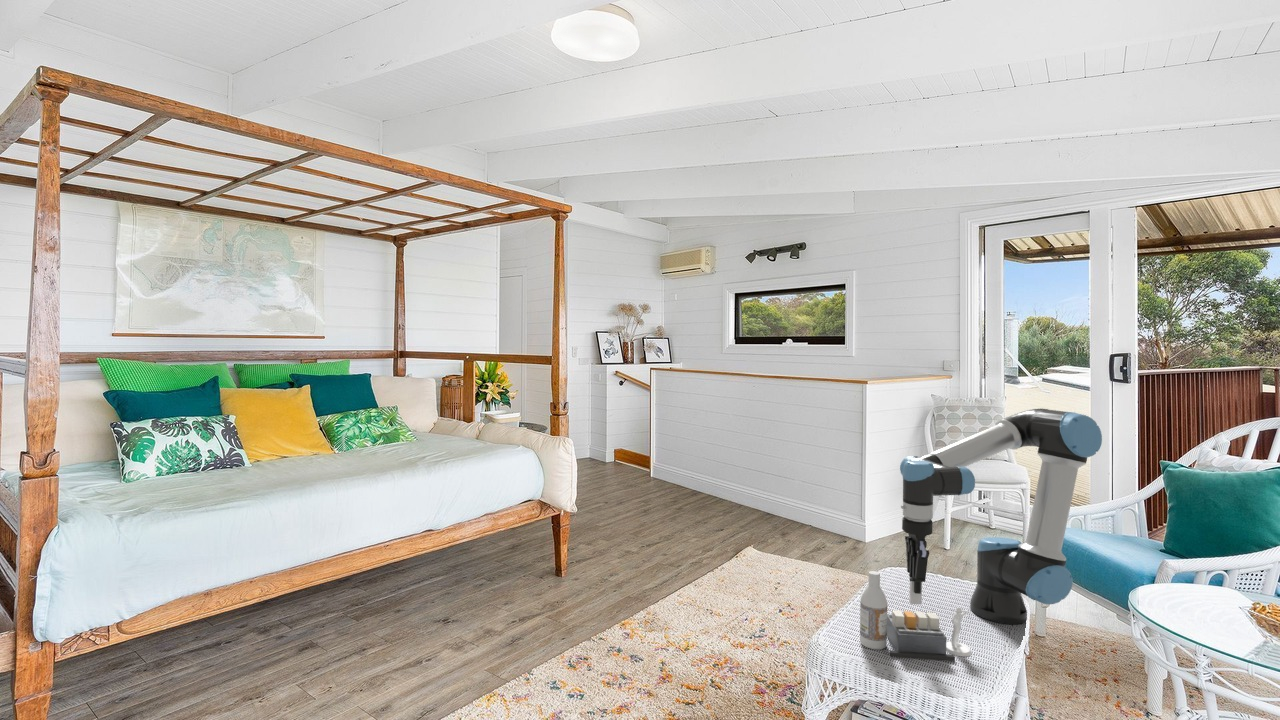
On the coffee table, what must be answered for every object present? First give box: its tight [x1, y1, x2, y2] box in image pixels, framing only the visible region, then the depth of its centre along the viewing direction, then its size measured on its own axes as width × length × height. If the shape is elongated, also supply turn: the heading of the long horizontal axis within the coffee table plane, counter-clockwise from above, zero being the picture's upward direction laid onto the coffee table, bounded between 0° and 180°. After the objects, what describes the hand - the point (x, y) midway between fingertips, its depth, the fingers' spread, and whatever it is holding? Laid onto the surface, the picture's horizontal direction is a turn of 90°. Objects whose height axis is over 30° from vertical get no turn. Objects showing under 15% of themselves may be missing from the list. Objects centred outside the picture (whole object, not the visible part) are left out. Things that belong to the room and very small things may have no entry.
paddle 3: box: [914, 611, 928, 629], centre depth 167 cm, size 2×4×3 cm, turn 172°
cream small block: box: [891, 610, 904, 627], centre depth 167 cm, size 2×4×3 cm, turn 172°
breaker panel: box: [887, 613, 947, 655], centre depth 167 cm, size 12×12×7 cm
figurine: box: [946, 606, 973, 657], centre depth 165 cm, size 7×7×12 cm
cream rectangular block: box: [925, 612, 940, 630], centre depth 166 cm, size 2×4×3 cm, turn 172°
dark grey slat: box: [889, 649, 956, 662], centre depth 161 cm, size 16×1×1 cm, turn 82°
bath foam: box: [859, 570, 888, 650], centre depth 168 cm, size 7×7×20 cm
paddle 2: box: [903, 610, 916, 628], centre depth 167 cm, size 2×4×3 cm, turn 172°
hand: (915, 603), depth 167 cm, fingers closed
